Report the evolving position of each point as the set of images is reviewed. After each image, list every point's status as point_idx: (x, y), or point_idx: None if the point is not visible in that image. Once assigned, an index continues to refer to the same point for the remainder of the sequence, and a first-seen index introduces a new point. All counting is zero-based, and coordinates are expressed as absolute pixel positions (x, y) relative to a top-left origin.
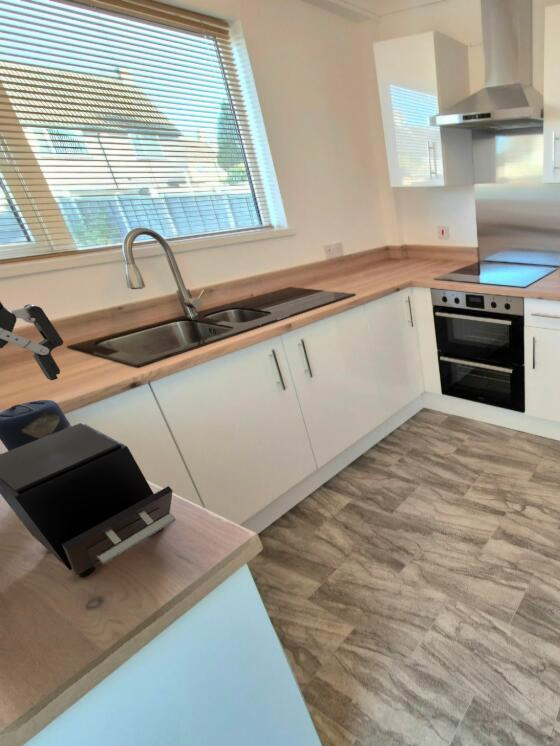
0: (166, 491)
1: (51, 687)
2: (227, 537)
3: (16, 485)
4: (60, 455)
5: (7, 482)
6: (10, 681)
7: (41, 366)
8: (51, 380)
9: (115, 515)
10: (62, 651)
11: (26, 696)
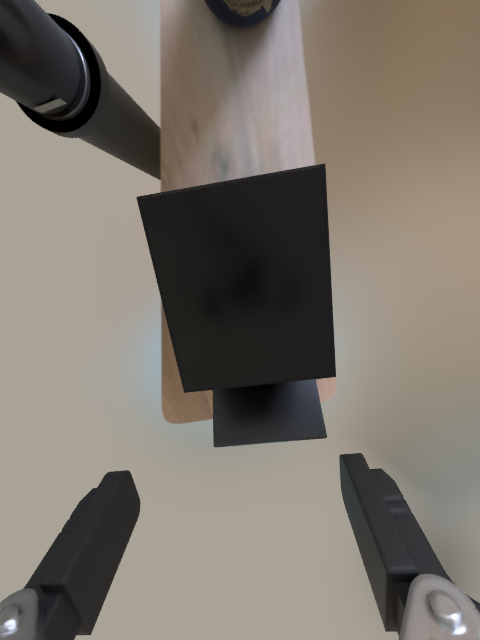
0: (320, 438)
1: (183, 421)
2: (328, 383)
3: (188, 375)
4: (252, 323)
5: (178, 352)
6: (162, 392)
7: (361, 533)
8: (341, 489)
9: (264, 442)
10: (191, 395)
11: (170, 414)
